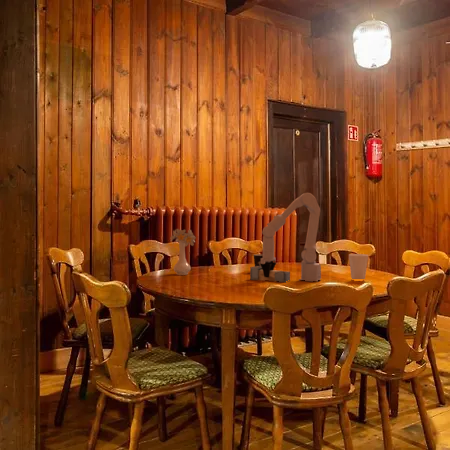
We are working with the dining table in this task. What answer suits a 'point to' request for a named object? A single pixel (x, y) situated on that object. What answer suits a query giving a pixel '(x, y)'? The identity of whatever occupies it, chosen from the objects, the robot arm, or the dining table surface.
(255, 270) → the grey rectangular block
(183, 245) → the flower vase
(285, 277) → the open end cap
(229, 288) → the dining table surface
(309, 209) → the robot arm
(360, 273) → the foam cup
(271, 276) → the light brown long block
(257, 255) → the coffee mug
